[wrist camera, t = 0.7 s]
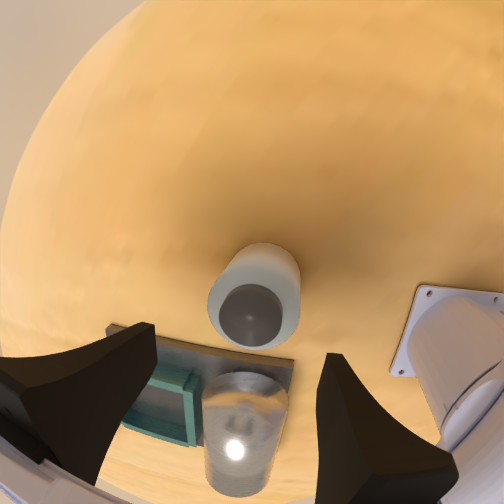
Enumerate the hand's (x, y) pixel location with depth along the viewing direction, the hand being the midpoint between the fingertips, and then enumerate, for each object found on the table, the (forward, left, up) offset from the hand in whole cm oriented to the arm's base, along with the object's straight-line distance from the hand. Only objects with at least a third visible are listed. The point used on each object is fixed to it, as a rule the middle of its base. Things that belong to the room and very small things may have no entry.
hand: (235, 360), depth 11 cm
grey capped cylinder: (0, 0, -9) cm, 9 cm away
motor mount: (+5, +13, -9) cm, 17 cm away
